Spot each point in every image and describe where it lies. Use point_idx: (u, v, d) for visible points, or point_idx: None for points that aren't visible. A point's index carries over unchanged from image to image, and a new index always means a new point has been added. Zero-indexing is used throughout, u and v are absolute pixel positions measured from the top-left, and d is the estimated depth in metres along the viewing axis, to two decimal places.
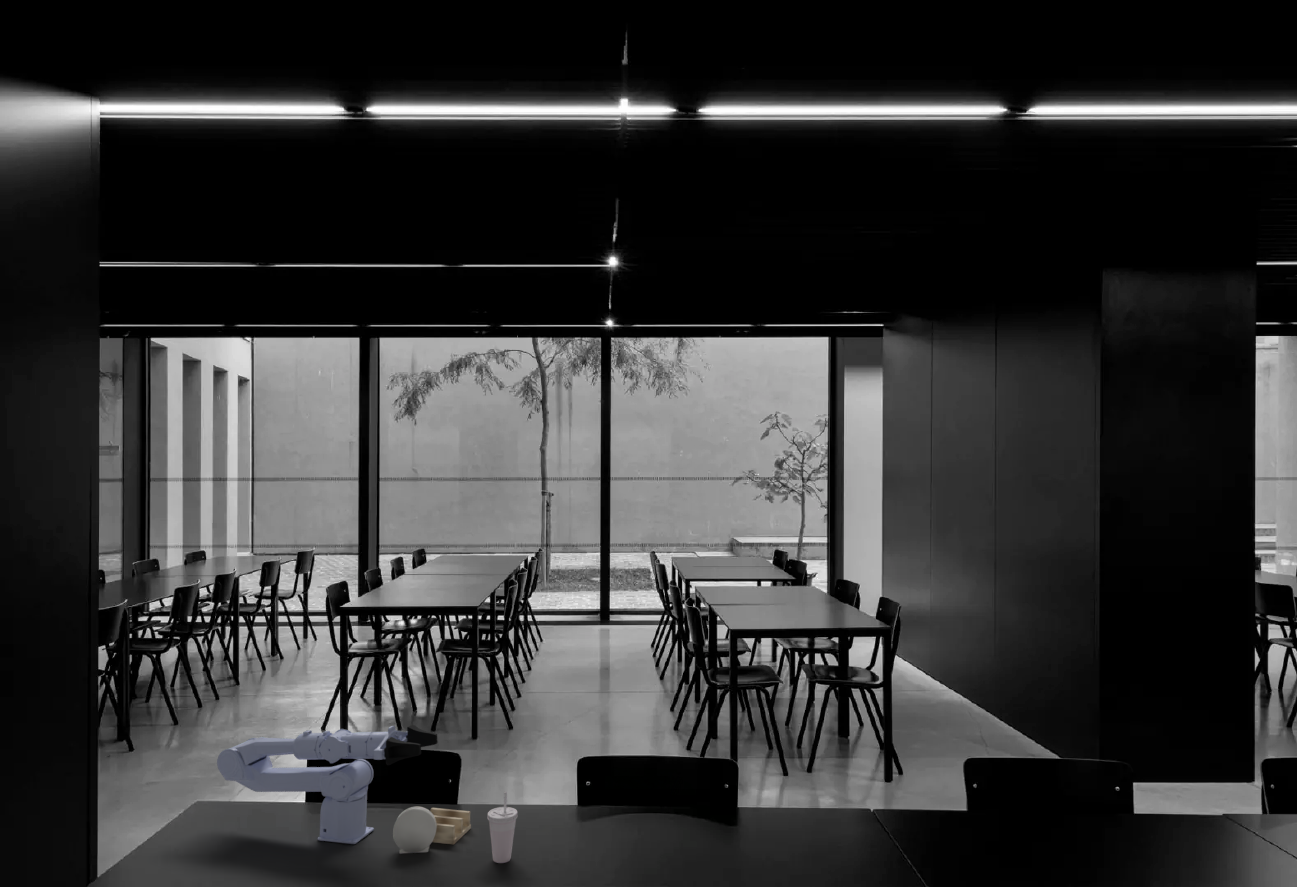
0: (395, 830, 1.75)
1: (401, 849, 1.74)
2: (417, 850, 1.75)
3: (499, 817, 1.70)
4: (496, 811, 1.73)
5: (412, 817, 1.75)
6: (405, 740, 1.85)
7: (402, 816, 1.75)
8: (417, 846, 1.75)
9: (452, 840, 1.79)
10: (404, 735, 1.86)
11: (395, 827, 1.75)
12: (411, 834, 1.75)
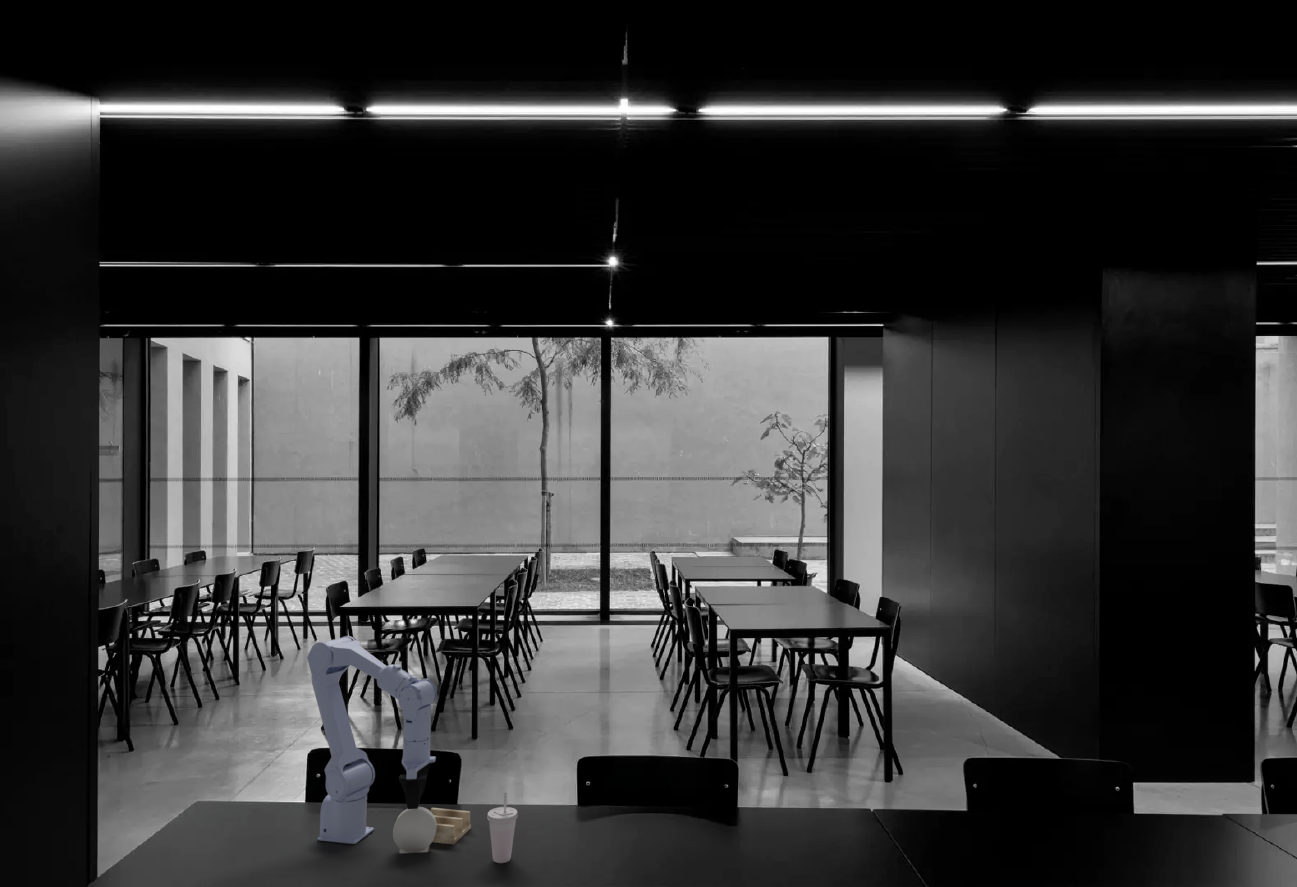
0: (395, 830, 1.75)
1: (401, 849, 1.74)
2: (417, 850, 1.75)
3: (499, 817, 1.70)
4: (496, 811, 1.73)
5: (412, 817, 1.75)
6: None
7: (402, 816, 1.75)
8: (417, 846, 1.75)
9: (452, 840, 1.79)
10: None
11: (395, 827, 1.75)
12: (411, 834, 1.75)
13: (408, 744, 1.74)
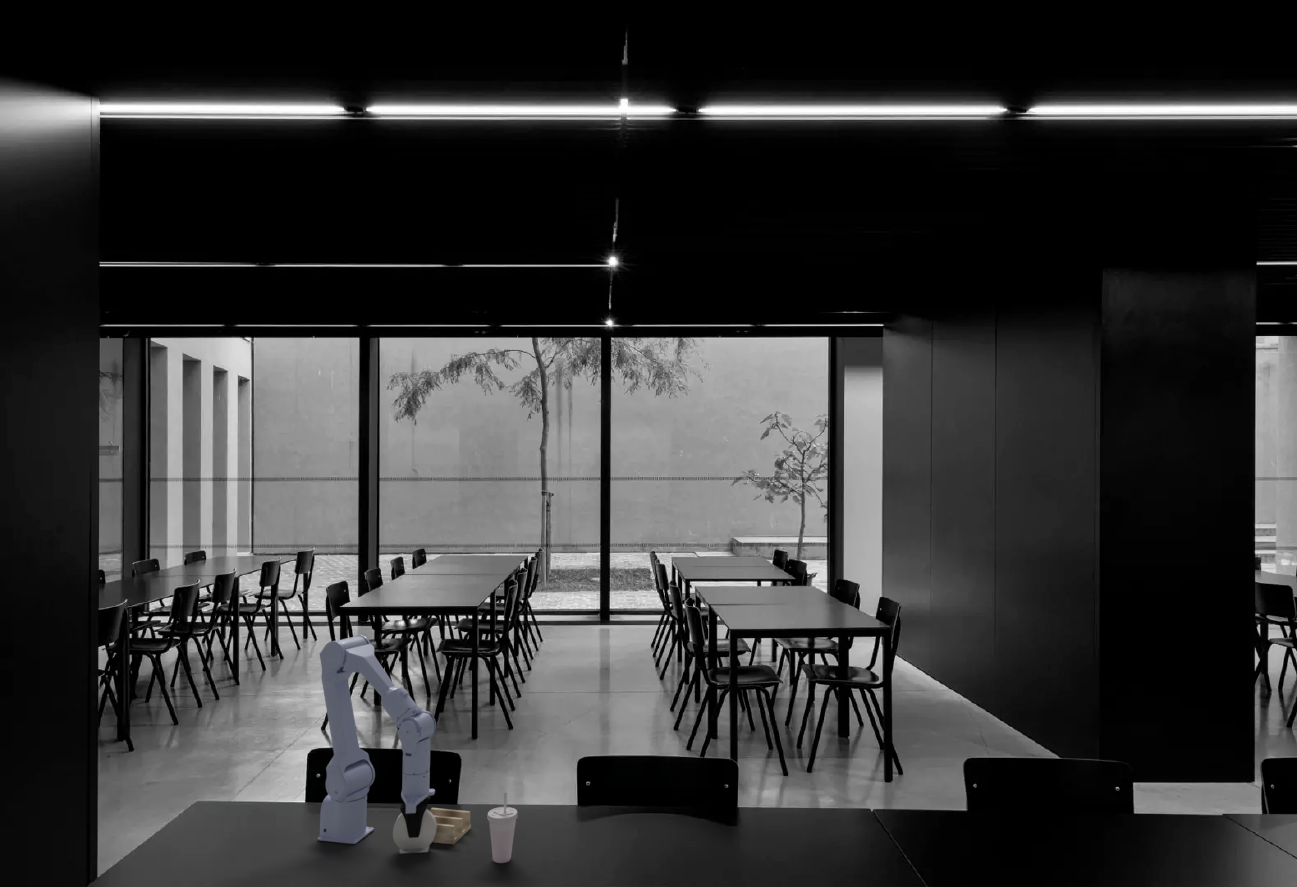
0: (395, 830, 1.75)
1: (401, 849, 1.74)
2: (417, 850, 1.75)
3: (499, 817, 1.70)
4: (496, 811, 1.73)
5: None
6: None
7: (402, 816, 1.75)
8: (417, 846, 1.75)
9: (452, 840, 1.79)
10: None
11: (395, 827, 1.75)
12: None
13: (407, 777, 1.74)
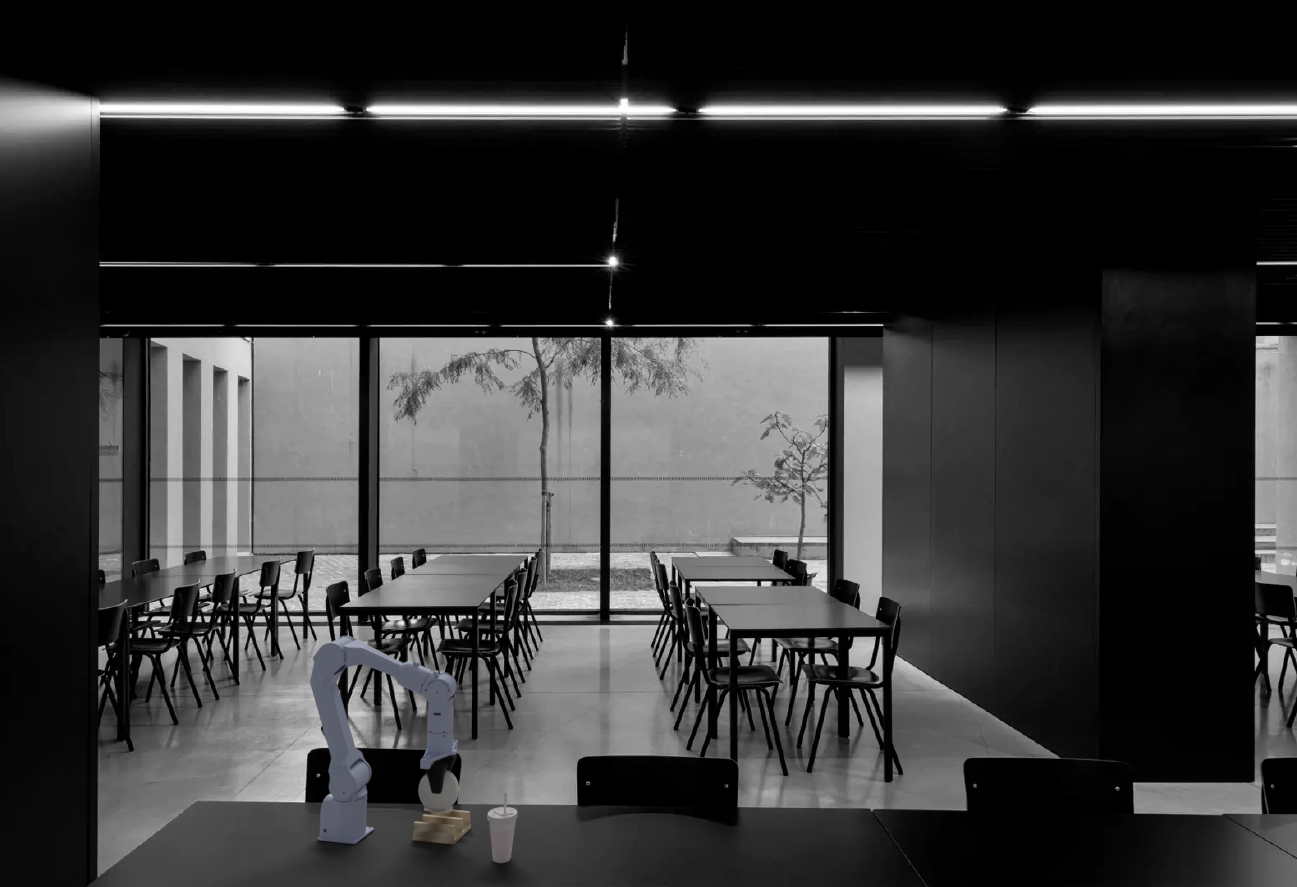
0: (420, 788, 1.83)
1: (425, 807, 1.82)
2: (439, 810, 1.82)
3: (499, 817, 1.70)
4: (496, 811, 1.73)
5: None
6: None
7: (426, 775, 1.83)
8: (439, 806, 1.82)
9: (452, 840, 1.79)
10: None
11: (420, 785, 1.83)
12: (434, 794, 1.82)
13: (429, 735, 1.81)
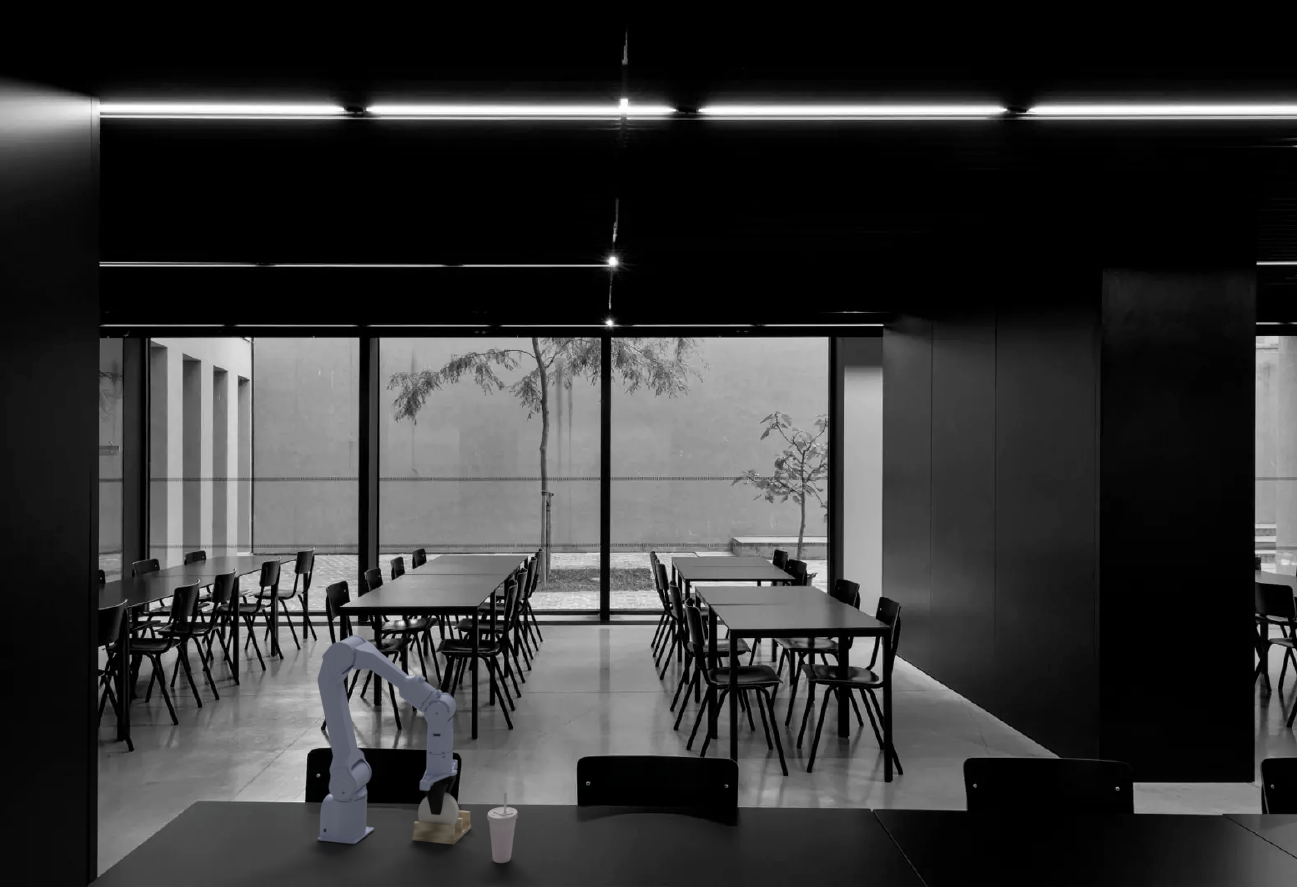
0: (420, 811, 1.82)
1: None
2: None
3: (499, 817, 1.70)
4: (496, 811, 1.73)
5: None
6: None
7: (426, 798, 1.82)
8: None
9: (452, 840, 1.79)
10: None
11: (420, 808, 1.83)
12: (434, 817, 1.82)
13: (428, 756, 1.81)
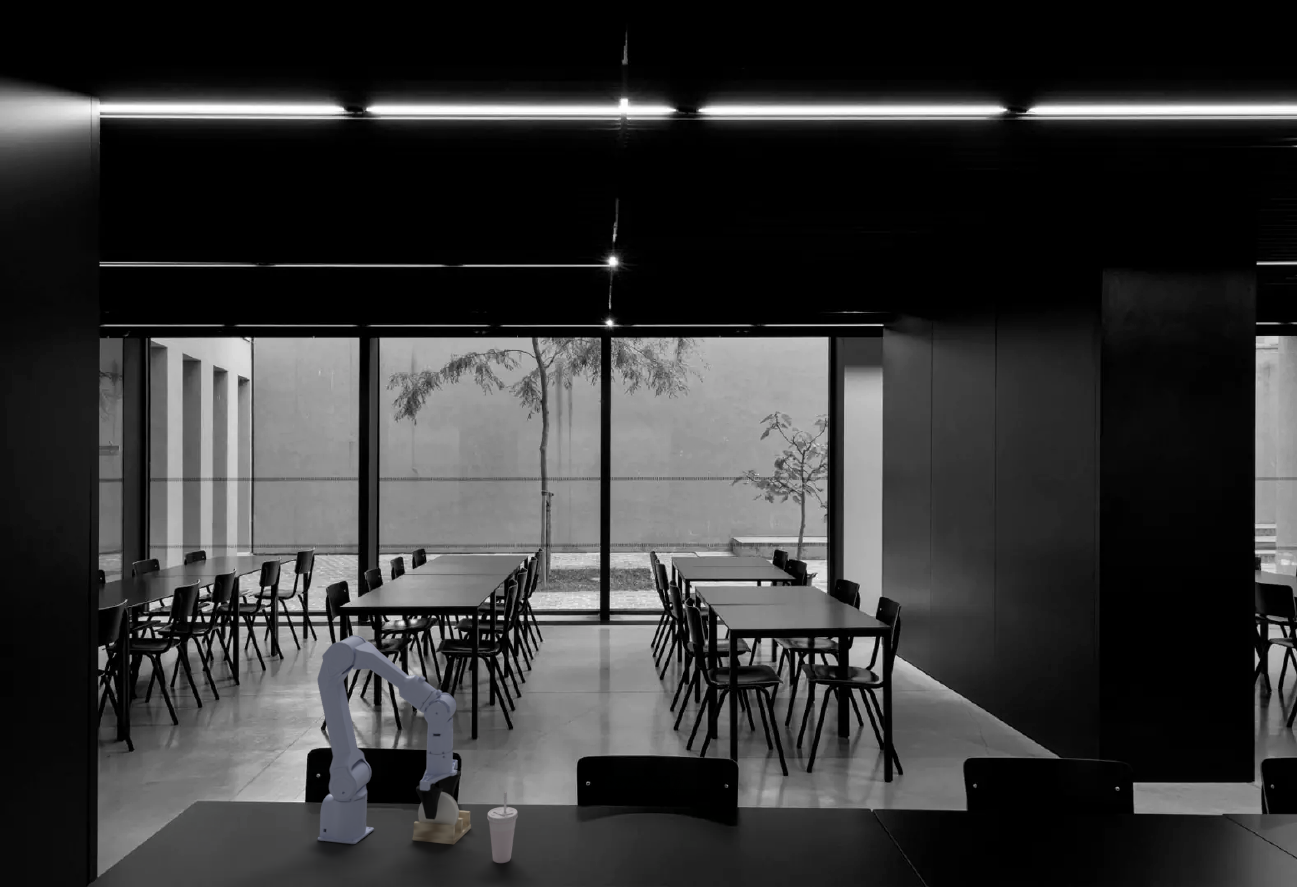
0: (420, 812, 1.82)
1: None
2: None
3: (499, 817, 1.70)
4: (496, 811, 1.73)
5: None
6: None
7: None
8: None
9: (452, 840, 1.79)
10: None
11: (420, 809, 1.83)
12: None
13: (428, 756, 1.81)
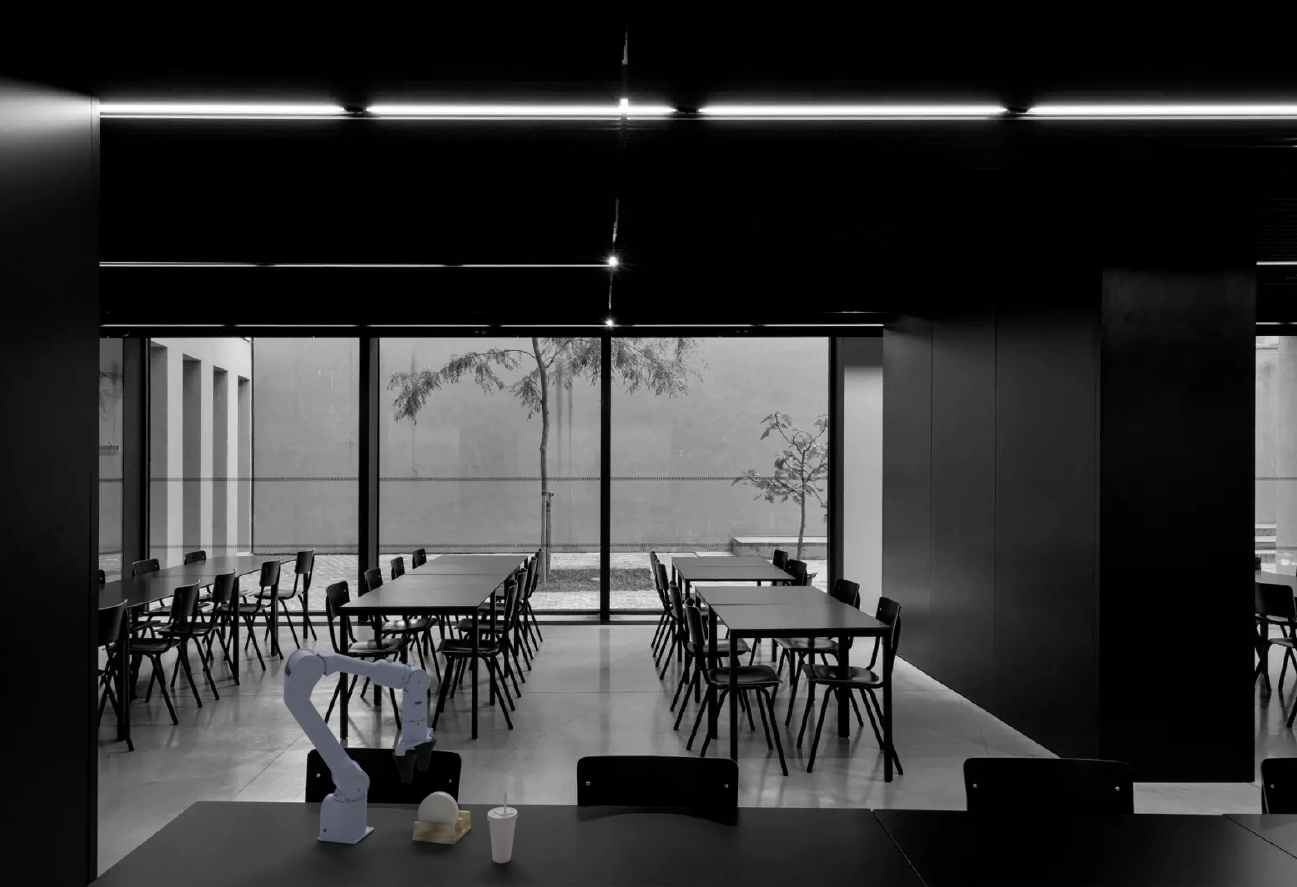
0: (420, 812, 1.82)
1: None
2: None
3: (499, 817, 1.70)
4: (496, 811, 1.73)
5: (434, 801, 1.82)
6: None
7: (426, 799, 1.82)
8: None
9: (452, 840, 1.79)
10: None
11: (420, 809, 1.83)
12: (434, 818, 1.82)
13: (404, 723, 1.90)
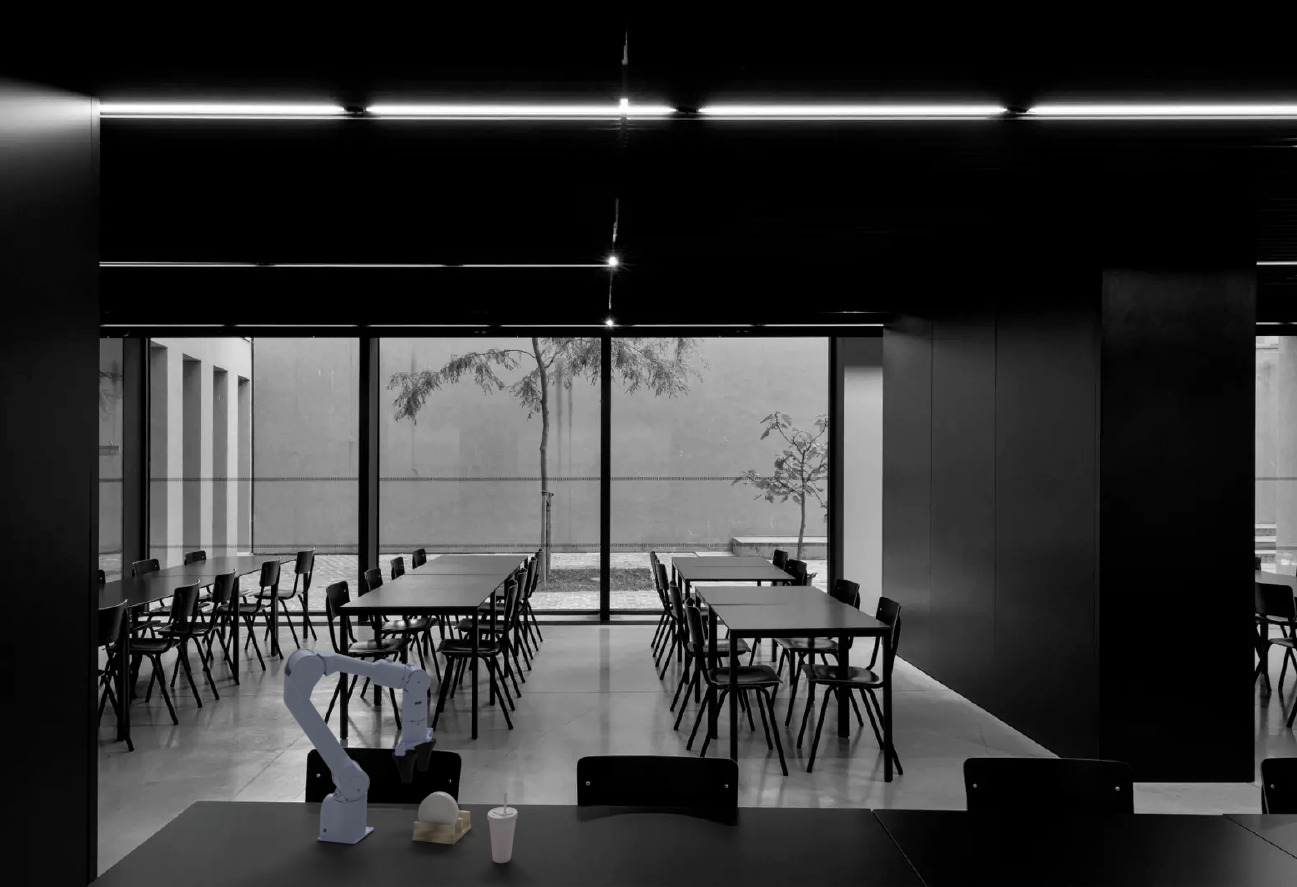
0: (420, 812, 1.82)
1: None
2: None
3: (499, 817, 1.70)
4: (496, 811, 1.73)
5: (434, 801, 1.82)
6: None
7: (426, 799, 1.82)
8: None
9: (452, 840, 1.79)
10: None
11: (420, 809, 1.83)
12: (434, 818, 1.82)
13: (404, 723, 1.90)
